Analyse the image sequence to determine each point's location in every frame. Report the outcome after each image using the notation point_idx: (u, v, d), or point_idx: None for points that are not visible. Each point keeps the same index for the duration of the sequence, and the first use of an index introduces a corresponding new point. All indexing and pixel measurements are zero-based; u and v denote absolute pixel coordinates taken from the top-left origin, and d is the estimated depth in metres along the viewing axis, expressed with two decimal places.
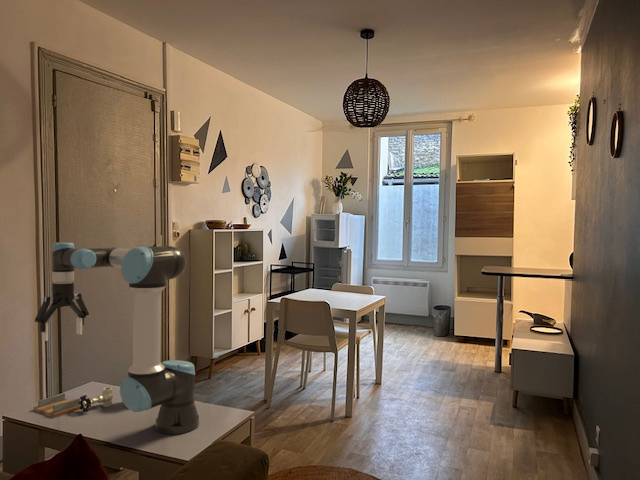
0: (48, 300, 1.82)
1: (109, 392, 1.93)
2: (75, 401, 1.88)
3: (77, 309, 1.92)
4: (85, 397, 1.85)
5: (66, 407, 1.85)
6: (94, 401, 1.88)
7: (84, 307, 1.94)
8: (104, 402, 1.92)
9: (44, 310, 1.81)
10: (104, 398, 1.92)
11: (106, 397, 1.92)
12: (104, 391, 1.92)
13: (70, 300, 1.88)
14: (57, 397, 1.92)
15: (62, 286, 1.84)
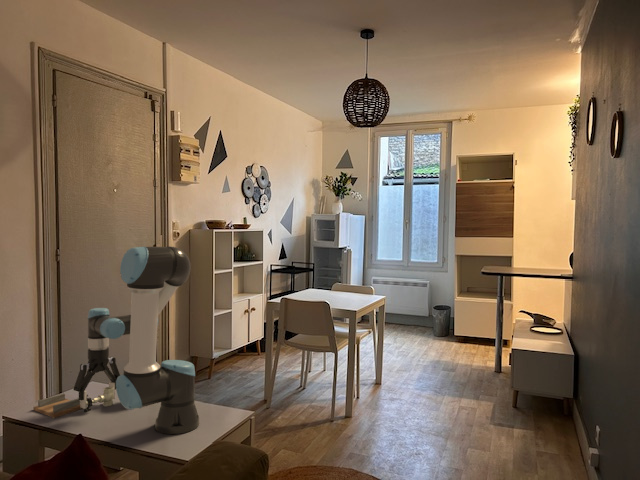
0: (85, 368, 1.84)
1: (110, 391, 1.93)
2: (75, 401, 1.88)
3: (110, 374, 1.94)
4: None
5: (66, 407, 1.85)
6: (95, 401, 1.89)
7: (117, 371, 1.96)
8: (105, 401, 1.92)
9: (82, 379, 1.83)
10: (105, 398, 1.92)
11: (107, 396, 1.92)
12: (105, 391, 1.92)
13: (105, 365, 1.91)
14: (57, 397, 1.92)
15: (98, 353, 1.87)
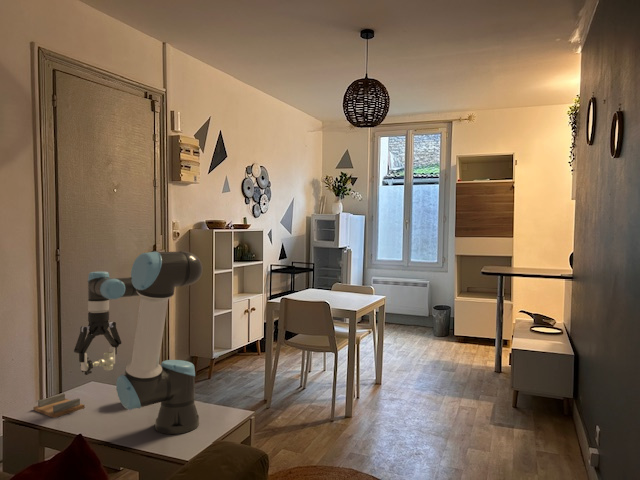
0: (85, 330, 1.84)
1: (111, 356, 1.92)
2: (75, 401, 1.88)
3: (111, 338, 1.93)
4: (87, 359, 1.85)
5: (66, 407, 1.85)
6: (96, 364, 1.88)
7: (117, 336, 1.96)
8: (106, 366, 1.92)
9: (82, 340, 1.83)
10: (106, 361, 1.91)
11: (108, 360, 1.91)
12: (106, 355, 1.92)
13: (105, 328, 1.90)
14: (57, 397, 1.92)
15: (98, 315, 1.86)
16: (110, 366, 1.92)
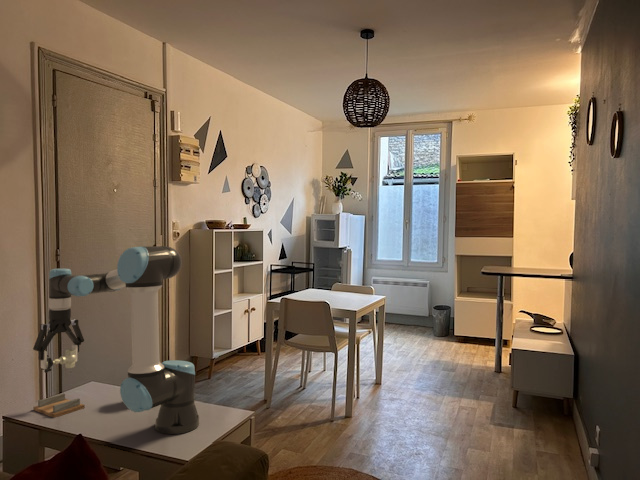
0: (45, 328, 1.82)
1: (72, 353, 1.91)
2: (75, 401, 1.88)
3: (73, 336, 1.91)
4: None
5: (66, 407, 1.85)
6: (56, 362, 1.86)
7: (80, 334, 1.94)
8: (67, 363, 1.90)
9: (42, 338, 1.81)
10: (67, 359, 1.89)
11: (69, 358, 1.90)
12: (67, 352, 1.90)
13: (67, 326, 1.88)
14: (57, 397, 1.92)
15: (59, 313, 1.84)
16: (72, 364, 1.90)
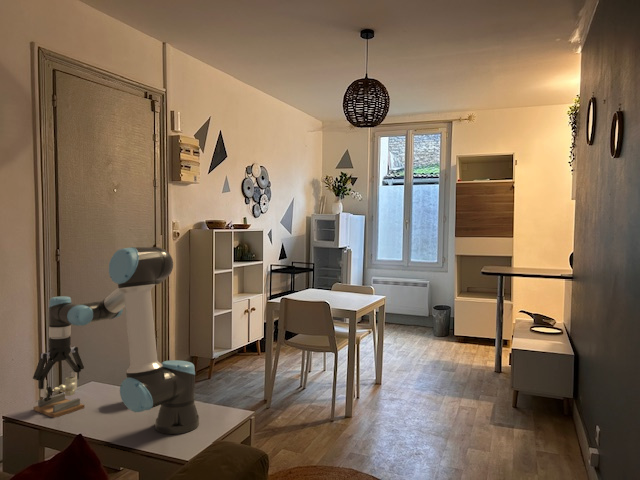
0: (45, 357, 1.82)
1: (72, 381, 1.91)
2: (75, 401, 1.88)
3: (73, 363, 1.92)
4: None
5: (66, 407, 1.85)
6: (56, 390, 1.86)
7: (80, 361, 1.94)
8: (67, 391, 1.90)
9: (41, 367, 1.81)
10: (67, 387, 1.90)
11: (69, 386, 1.90)
12: (67, 380, 1.90)
13: (67, 354, 1.89)
14: (57, 397, 1.92)
15: (58, 342, 1.84)
16: (71, 391, 1.91)
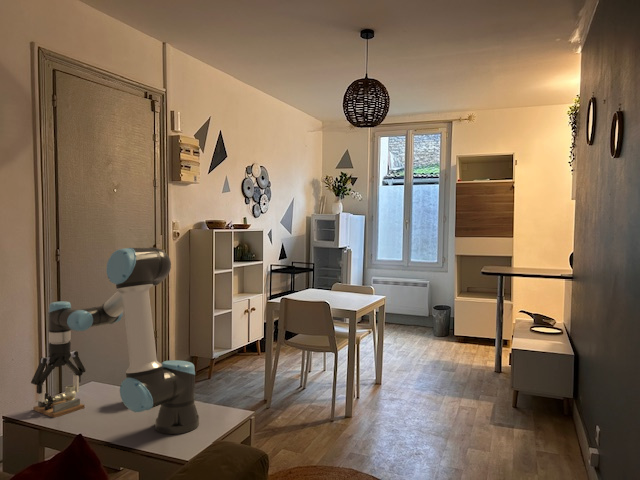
0: (44, 361, 1.82)
1: (72, 390, 1.91)
2: (75, 401, 1.88)
3: (74, 367, 1.92)
4: None
5: (66, 407, 1.85)
6: (56, 399, 1.86)
7: (81, 364, 1.95)
8: (67, 400, 1.90)
9: (40, 372, 1.81)
10: (67, 396, 1.90)
11: (69, 395, 1.90)
12: (67, 389, 1.90)
13: (67, 359, 1.89)
14: None
15: (58, 347, 1.85)
16: None
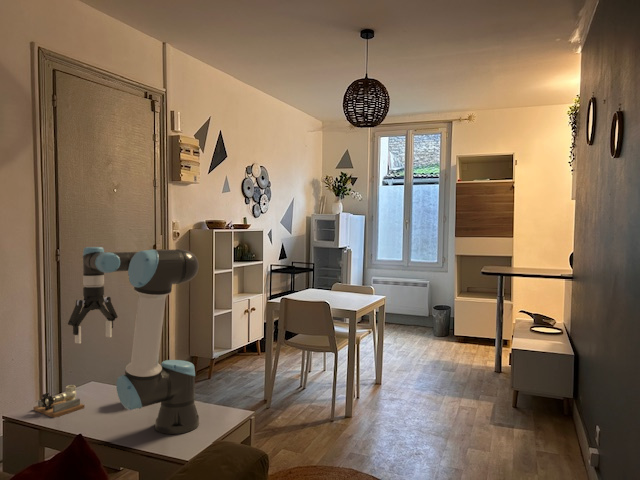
0: (81, 303, 1.85)
1: (73, 389, 1.91)
2: (75, 401, 1.88)
3: (107, 312, 1.95)
4: (47, 395, 1.83)
5: (66, 407, 1.85)
6: (57, 399, 1.86)
7: (113, 310, 1.98)
8: (67, 400, 1.90)
9: (77, 313, 1.84)
10: (67, 396, 1.90)
11: (69, 395, 1.90)
12: (67, 389, 1.90)
13: (101, 303, 1.92)
14: None
15: (93, 290, 1.88)
16: None
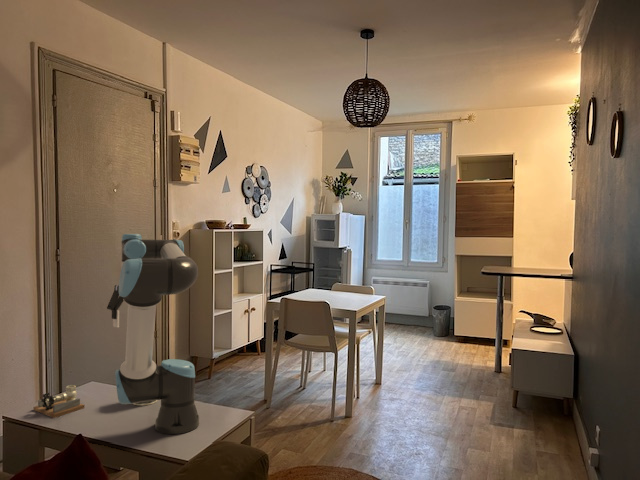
0: (119, 288, 1.90)
1: (73, 389, 1.91)
2: (75, 401, 1.88)
3: None
4: None
5: (66, 407, 1.85)
6: (57, 399, 1.86)
7: None
8: (68, 400, 1.90)
9: (116, 298, 1.89)
10: (68, 395, 1.90)
11: (70, 394, 1.90)
12: (68, 388, 1.90)
13: None
14: None
15: None
16: None
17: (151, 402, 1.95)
